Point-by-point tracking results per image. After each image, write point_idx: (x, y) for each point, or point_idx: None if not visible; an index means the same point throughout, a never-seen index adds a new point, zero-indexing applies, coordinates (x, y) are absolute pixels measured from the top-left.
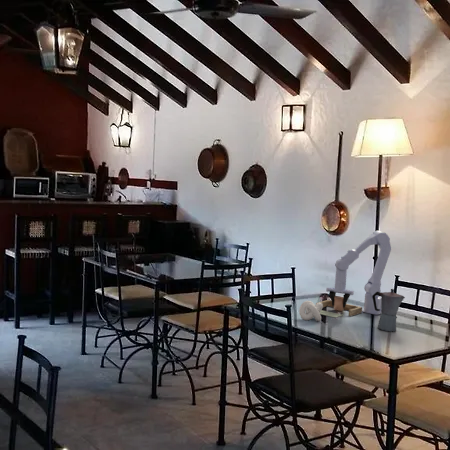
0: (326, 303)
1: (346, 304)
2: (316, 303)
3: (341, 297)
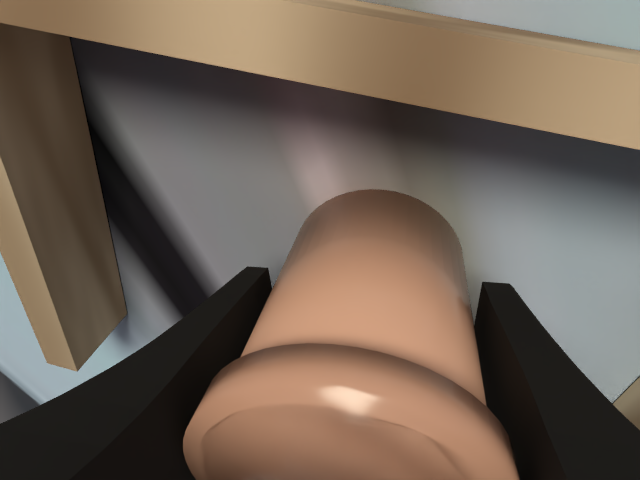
0: (31, 99)
1: (531, 127)
2: (59, 360)
3: (388, 462)
